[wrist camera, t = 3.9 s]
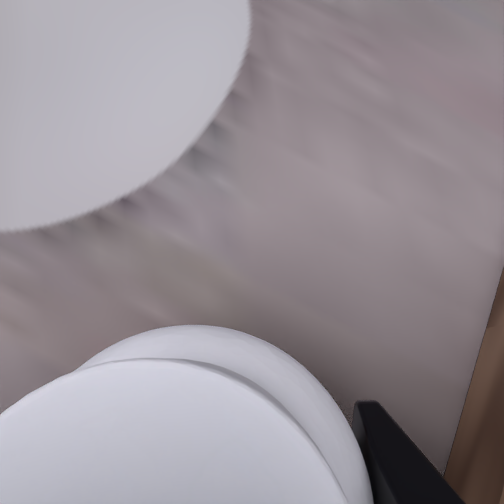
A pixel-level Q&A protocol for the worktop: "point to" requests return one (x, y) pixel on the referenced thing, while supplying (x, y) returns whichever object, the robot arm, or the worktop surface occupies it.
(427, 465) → the robot arm
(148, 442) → the pill bottle
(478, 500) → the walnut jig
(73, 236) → the worktop surface
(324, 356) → the worktop surface
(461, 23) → the worktop surface
